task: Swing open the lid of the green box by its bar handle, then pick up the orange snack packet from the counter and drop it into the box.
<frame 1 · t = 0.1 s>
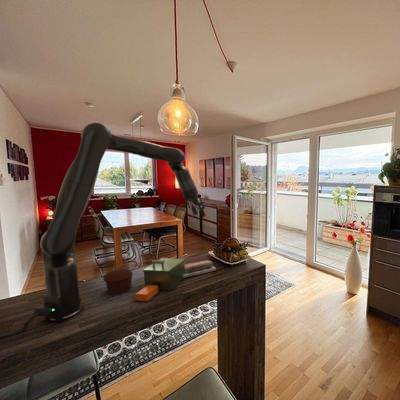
hand: (199, 215, 122), 31 cm above the breakfast bar, tool tilted 20°, fingers open, 8 cm apart
bin lid: (164, 261, 111), point 11 cm above the breakfast bar, hinge at 0.0°
green box: (166, 282, 113), on the breakfast bar
packaged product: (197, 271, 125), on the breakfast bar, touching green box
packet: (147, 295, 100), on the breakfast bar
muffin: (119, 289, 106), on the breakfast bar
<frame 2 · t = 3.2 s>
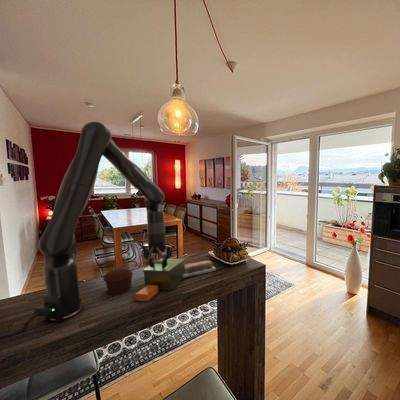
hand: (158, 266, 106), 10 cm above the breakfast bar, tool pointing down, fingers closed on bin lid, 5 cm apart
bin lid: (164, 261, 111), point 11 cm above the breakfast bar, hinge at 0.0°, touching gripper
everything else where it was.
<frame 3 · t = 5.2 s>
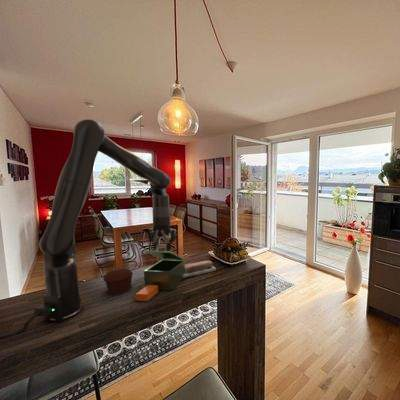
hand: (162, 249, 110), 17 cm above the breakfast bar, tool pointing down, fingers closed on bin lid, 5 cm apart
bin lid: (166, 251, 113), point 15 cm above the breakfast bar, hinge at 33.3°, touching gripper
everything else where it was.
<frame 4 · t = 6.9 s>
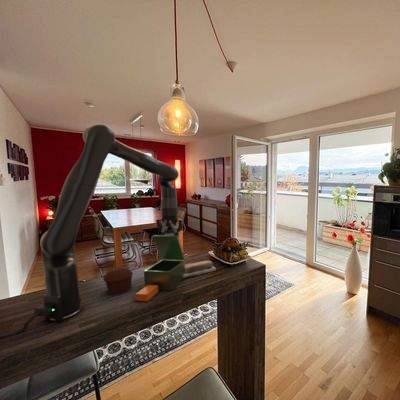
hand: (170, 239, 116), 20 cm above the breakfast bar, tool pointing down, fingers closed on bin lid, 5 cm apart
bin lid: (171, 245, 117), point 17 cm above the breakfast bar, hinge at 66.5°, touching gripper
everything else where it was.
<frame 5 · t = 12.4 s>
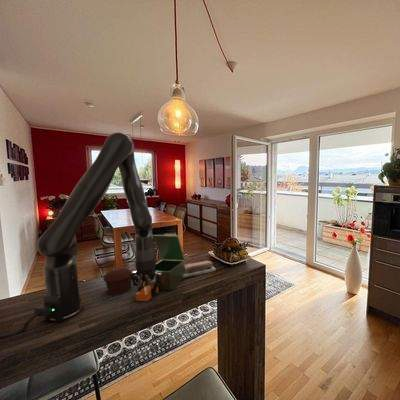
hand: (147, 295, 100), 0 cm above the breakfast bar, tool pointing down, fingers closed on packet, 5 cm apart
bin lid: (171, 245, 117), point 17 cm above the breakfast bar, hinge at 67.5°
packet: (147, 295, 100), on the breakfast bar, touching gripper
everything else where it was.
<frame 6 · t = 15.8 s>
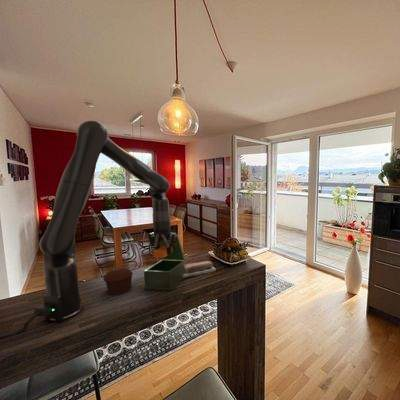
hand: (163, 253, 110), 15 cm above the breakfast bar, tool pointing down, fingers closed on packet, 5 cm apart
bin lid: (171, 245, 117), point 17 cm above the breakfast bar, hinge at 67.9°
packet: (163, 254, 110), point 15 cm above the breakfast bar, touching gripper
everything else where it was.
when the fingers open (9 cm above the breakfast bar, at t = 17.9 s): packet drops 8 cm, resting on green box.
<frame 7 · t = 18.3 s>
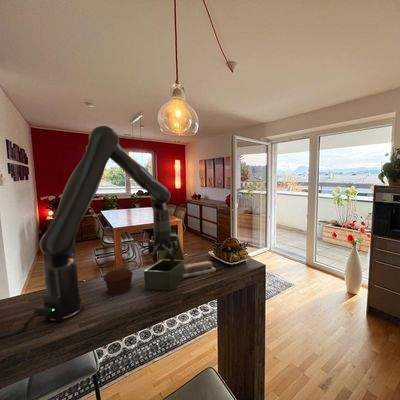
hand: (163, 261, 111), 11 cm above the breakfast bar, tool pointing down, fingers open, 8 cm apart
packet: (165, 281, 112), point 1 cm above the breakfast bar, touching green box
everything else where it was.
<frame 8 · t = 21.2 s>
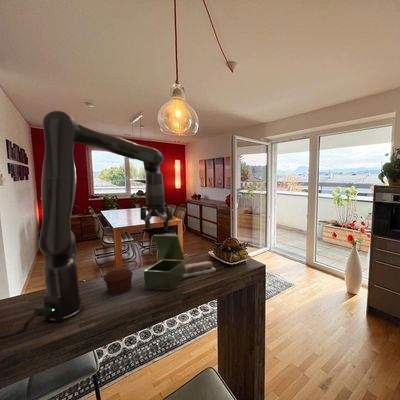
hand: (157, 229, 105), 28 cm above the breakfast bar, tool pointing down, fingers open, 8 cm apart
nothing on the breakfast bar moved.
at the end: bin lid at +68° (first picture: +0°); packet inside the target area in the green box (1.0 cm from its centre), point 0.8 cm above the green box's base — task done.
